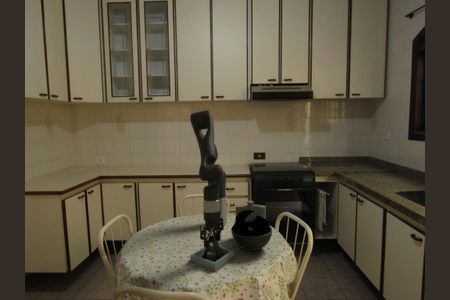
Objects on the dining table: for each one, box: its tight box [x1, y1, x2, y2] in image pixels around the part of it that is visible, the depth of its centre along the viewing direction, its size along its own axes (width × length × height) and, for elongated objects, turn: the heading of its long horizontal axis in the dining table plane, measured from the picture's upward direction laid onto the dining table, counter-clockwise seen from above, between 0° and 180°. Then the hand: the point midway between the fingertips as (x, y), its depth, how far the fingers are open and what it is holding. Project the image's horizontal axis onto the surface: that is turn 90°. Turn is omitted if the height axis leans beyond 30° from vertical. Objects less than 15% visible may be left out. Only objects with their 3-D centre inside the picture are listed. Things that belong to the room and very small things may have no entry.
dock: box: [188, 243, 236, 273], centre depth 125 cm, size 15×15×3 cm
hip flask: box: [235, 200, 267, 222], centre depth 148 cm, size 16×4×20 cm, turn 86°
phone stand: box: [202, 231, 223, 262], centre depth 125 cm, size 9×6×12 cm, turn 84°
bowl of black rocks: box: [230, 210, 273, 251], centre depth 135 cm, size 20×20×19 cm
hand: (212, 244), depth 125 cm, fingers open, 8 cm apart
